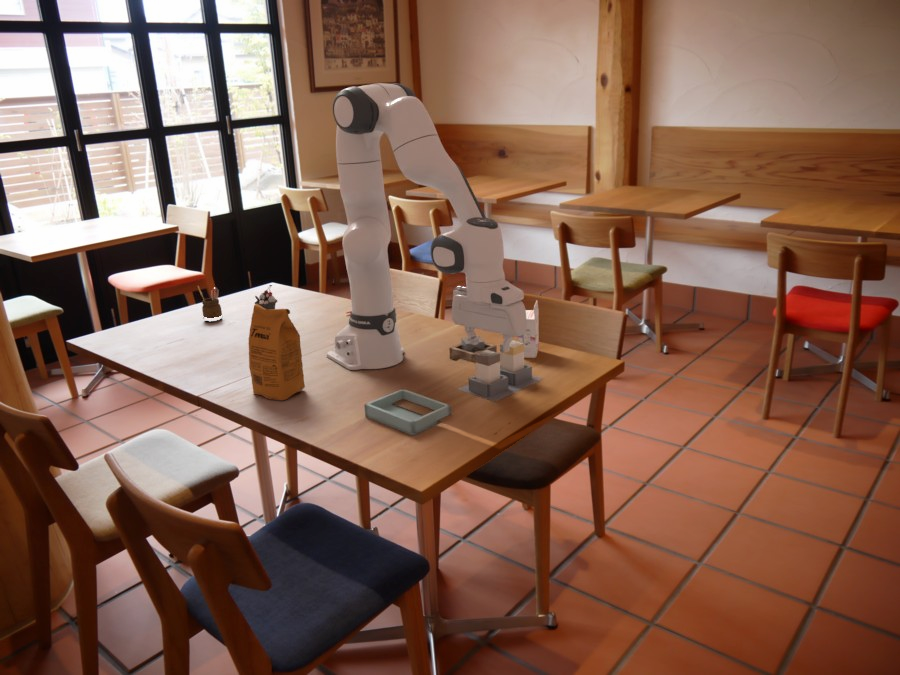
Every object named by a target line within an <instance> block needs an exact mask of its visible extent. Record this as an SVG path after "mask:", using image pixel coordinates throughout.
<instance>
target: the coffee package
mask: <svg viewBox="0 0 900 675" xmlns="http://www.w3.org/2000/svg"><path fill="white" fill-rule="evenodd" d="M290 314H291V311H290V309H289V308H275V309H269V310H267V309H265V308H263V307H262V306H260V305H258V304H255V303H254V305H253V311H252V314H251V320H250V321H251V322H250V328H249V334H248V335H249V336H248V368H249V372H250V376H251V385H252V391H253V392H252V394H253V393H254V394H253V395H255V394H257V396H263V397H264V398H265V399H267V398H268V399H267V400H271V399H275V401H285V400H288V399H289V398H290V397H292V396H294V394H296V393H299V392H301V391H302V390H304V389H305V388H306V386H305V379H304V378H305V377H304V369H303V366H304V364H303V358H302V355H303V354H302V347H301V336H300V333H299V332H298V330H297V328H296V327H295V325H294V323H293V321H292V320H291V318H290V316H289V315H290Z"/></svg>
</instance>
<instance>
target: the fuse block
mask: <svg viewBox="0 0 900 675" xmlns="http://www.w3.org/2000/svg"><path fill="white" fill-rule="evenodd" d="M467 379H468V384H466V385H464V386H461V387H459V388H457V390H458V391H461V392H464V393H467V394H470V395H474V396H476V397H479V398H482V399H486V400H489V401H492V402H494V403H495V402H499V401H500V400H502V399H505V398H506V397H508V396H509V397H510V396H511V395H512V394H514V393H517V392H519V391H522V390H523V389H525V388H528V387H530V386H531V385H534V384H535V383H538V382H540V381H542V380H544V378H542V377H538V376H536V375H533V366H532V365H531V364H527V363H524V368H523V369H521V370H519V371H517V372H510V371H507V370H503V369H501V363H500V379H499V380H497V381H494V382H492V383H490V384H489V383H485V382H482V381H479V380H476V374H475V375H472V376H470V377H468V378H467Z"/></svg>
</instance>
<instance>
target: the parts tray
mask: <svg viewBox="0 0 900 675" xmlns="http://www.w3.org/2000/svg"><path fill="white" fill-rule="evenodd" d="M400 400H405V401H409V402H411V403H414V404H416V405H419V406H423V407H424V408H427V409H431V410H434V411H431V412H429V413H426V414H421V413H419V412H416V411H413V410H411V409H408V408H405V407H402V406H401V405H400V406H399V405H398V404H395V403H396V402H398V401H400ZM364 413H365V414H364V416H365V417H366V418H367V419H371V420H374V421H376V422H378V423H380V424H383V425H385V426H387V427H391V428H392V429H395V430H398V431H400V432H402V433H405V434H408V435H410V436H412V437H413V436H416V435H419V434H420V433H422V432H425V431H426V430H428V429H430V428H431V429H432V428H433V427H435V426H437V425H439V424H441V423H443V422H442V421H440V420H441V419H443V418H445V417H448V416H450V415H452V406H451V404H448V403H445V402H441V401H439V400H436V399H434V398H430V397H428V396H425V395H422V394H419V393H416V392H413V391H410V390H408V389H405V388H401V389H398V390H396V391H393V392H392V393H389V394H386V395H384V396H381V397H379V398H377V399H373V400H372V401H369V402H366V403H365V404H364Z"/></svg>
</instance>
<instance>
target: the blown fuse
mask: <svg viewBox="0 0 900 675" xmlns="http://www.w3.org/2000/svg"><path fill="white" fill-rule="evenodd" d="M474 363H475V375H476V380H479V381H482V382H485V383H489V384H490V383H492V382H494V381H497V380H499V379H500V364H501V352H498V351H497V352H494V351H490V350H485V351H482V352H480V353H477V354H475V362H474Z"/></svg>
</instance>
